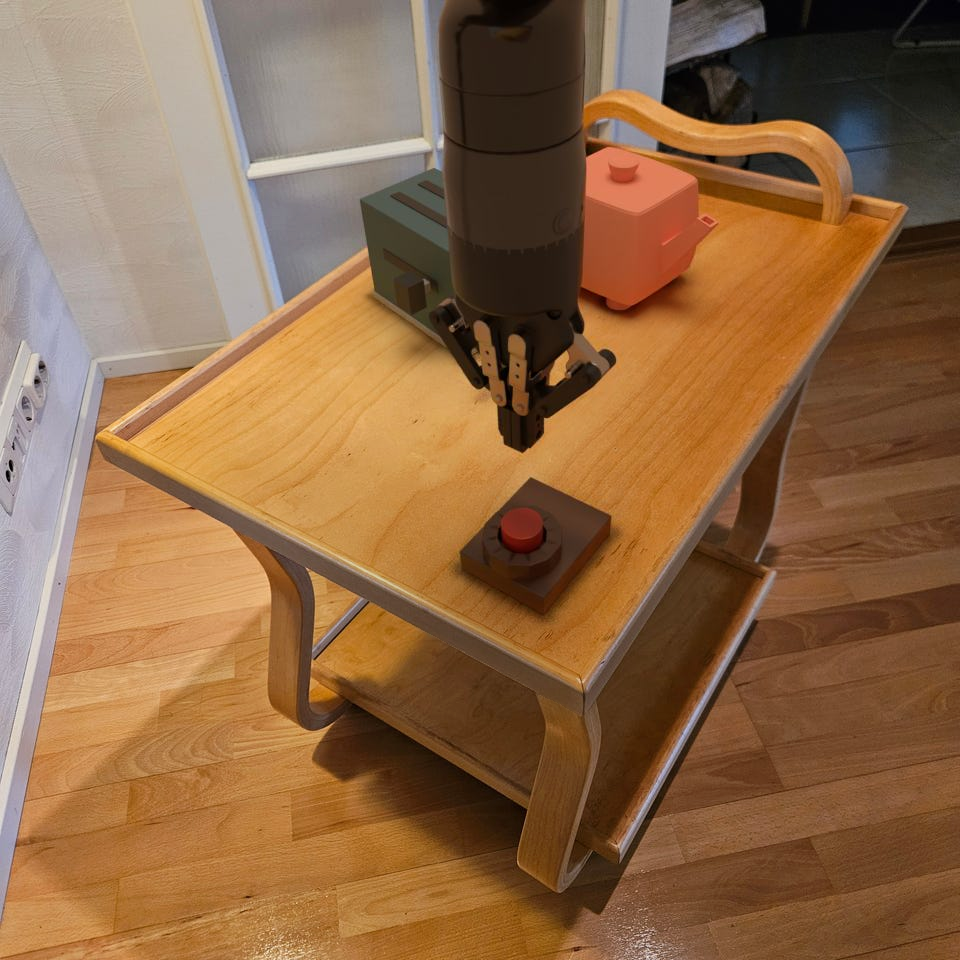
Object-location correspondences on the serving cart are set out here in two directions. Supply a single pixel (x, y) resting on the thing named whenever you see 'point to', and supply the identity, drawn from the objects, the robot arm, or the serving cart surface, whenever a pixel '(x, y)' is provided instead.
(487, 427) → the serving cart surface
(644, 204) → the teapot
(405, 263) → the toaster
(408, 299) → the slider
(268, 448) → the serving cart surface
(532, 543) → the power button
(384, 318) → the serving cart surface
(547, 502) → the switch block
